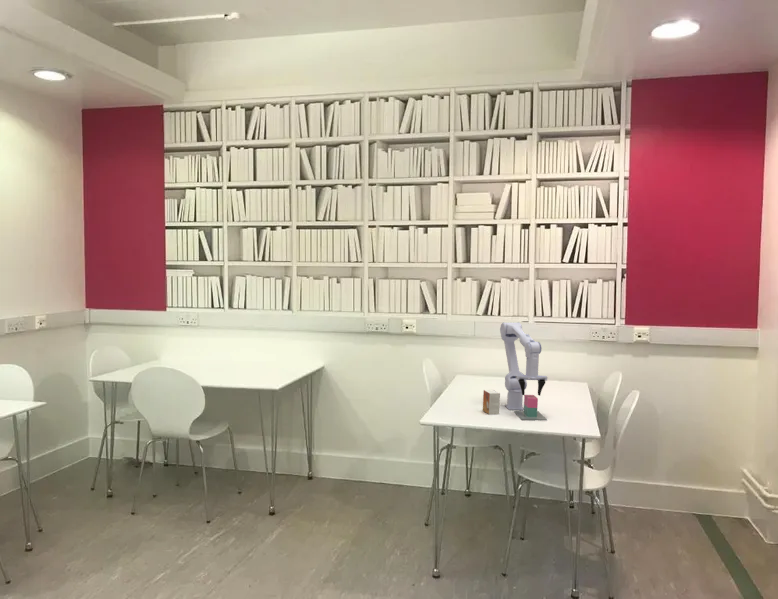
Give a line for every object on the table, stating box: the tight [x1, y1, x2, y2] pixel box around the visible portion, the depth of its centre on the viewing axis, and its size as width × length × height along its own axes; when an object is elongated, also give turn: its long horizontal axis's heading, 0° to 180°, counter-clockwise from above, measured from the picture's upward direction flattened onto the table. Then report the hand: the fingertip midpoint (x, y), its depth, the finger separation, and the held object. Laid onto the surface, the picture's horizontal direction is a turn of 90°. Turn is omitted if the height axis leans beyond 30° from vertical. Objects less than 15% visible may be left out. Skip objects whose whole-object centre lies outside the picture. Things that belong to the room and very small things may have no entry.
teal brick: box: [523, 403, 538, 417], centre depth 302 cm, size 8×5×4 cm, turn 0°
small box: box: [482, 389, 501, 415], centre depth 307 cm, size 8×6×10 cm
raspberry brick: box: [523, 394, 539, 409], centre depth 301 cm, size 8×5×4 cm, turn 0°
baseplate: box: [513, 410, 548, 421], centre depth 302 cm, size 16×12×1 cm
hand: (531, 394), depth 301 cm, fingers open, 7 cm apart
